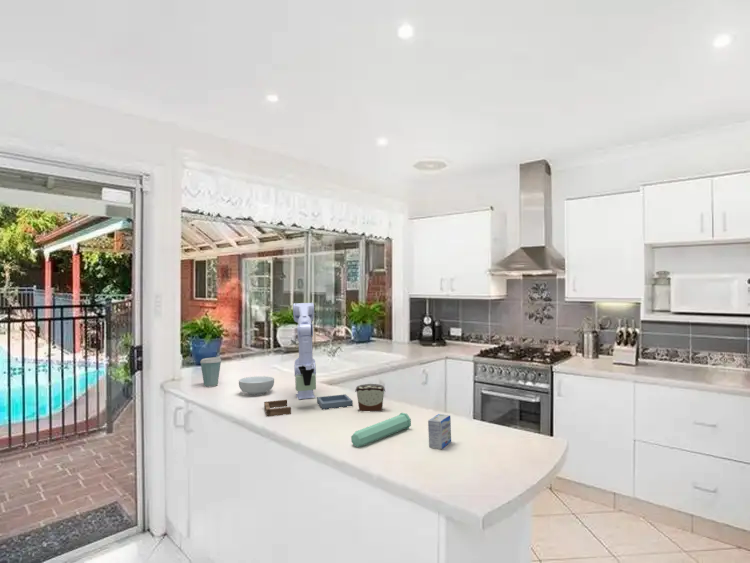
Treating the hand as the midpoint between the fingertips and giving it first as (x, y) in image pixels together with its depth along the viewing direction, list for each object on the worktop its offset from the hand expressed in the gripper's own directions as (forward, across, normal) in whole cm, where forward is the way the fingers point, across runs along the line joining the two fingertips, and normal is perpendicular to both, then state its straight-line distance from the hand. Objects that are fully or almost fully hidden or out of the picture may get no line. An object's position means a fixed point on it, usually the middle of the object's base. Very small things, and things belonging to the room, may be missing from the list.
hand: (306, 384), depth 189 cm
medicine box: (+10, +60, +33) cm, 69 cm away
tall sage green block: (+2, 0, 0) cm, 2 cm away
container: (+10, +46, +18) cm, 51 cm away
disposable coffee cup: (+10, -63, -41) cm, 76 cm away
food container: (+10, +13, +25) cm, 30 cm away
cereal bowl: (+10, -35, -19) cm, 41 cm away
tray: (+10, 0, +12) cm, 16 cm away
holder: (+10, 0, -12) cm, 16 cm away
